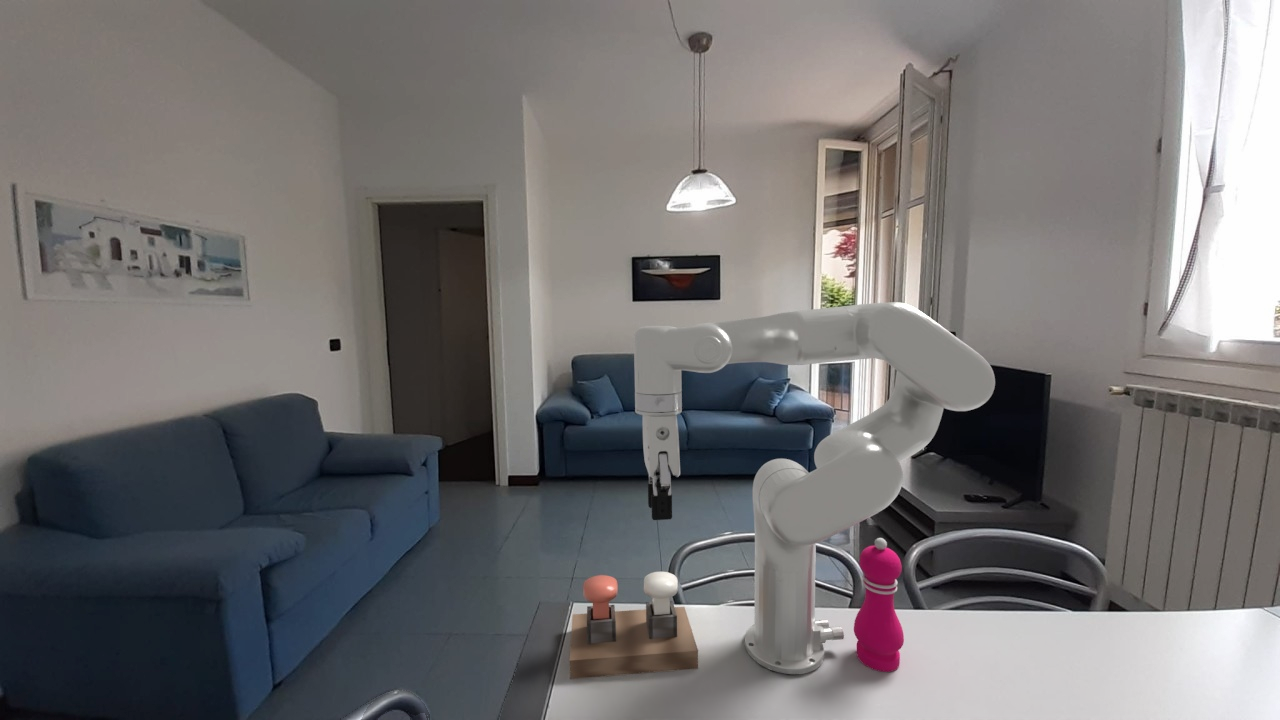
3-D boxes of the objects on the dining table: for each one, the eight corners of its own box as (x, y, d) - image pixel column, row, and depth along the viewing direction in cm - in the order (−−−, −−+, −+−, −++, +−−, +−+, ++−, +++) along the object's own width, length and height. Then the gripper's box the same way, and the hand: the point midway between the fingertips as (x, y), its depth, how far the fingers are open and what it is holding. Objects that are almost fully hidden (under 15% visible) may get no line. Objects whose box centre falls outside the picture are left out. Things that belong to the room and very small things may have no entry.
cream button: (674, 599, 87) (674, 570, 86) (680, 618, 81) (680, 588, 81) (642, 601, 86) (642, 572, 86) (646, 621, 81) (645, 590, 80)
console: (684, 622, 91) (684, 588, 90) (698, 668, 79) (697, 629, 78) (573, 630, 89) (572, 595, 88) (569, 679, 77) (568, 638, 77)
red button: (617, 603, 86) (616, 574, 86) (618, 623, 80) (618, 592, 80) (584, 605, 85) (583, 576, 85) (583, 625, 80) (582, 594, 79)
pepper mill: (909, 677, 76) (913, 550, 75) (858, 671, 78) (861, 547, 76) (895, 646, 83) (898, 530, 82) (849, 641, 85) (851, 527, 83)
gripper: (691, 411, 73) (692, 533, 74) (673, 394, 89) (674, 493, 91) (640, 413, 72) (642, 536, 74) (631, 395, 89) (633, 495, 90)
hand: (659, 511), depth 82 cm, fingers open, 4 cm apart
